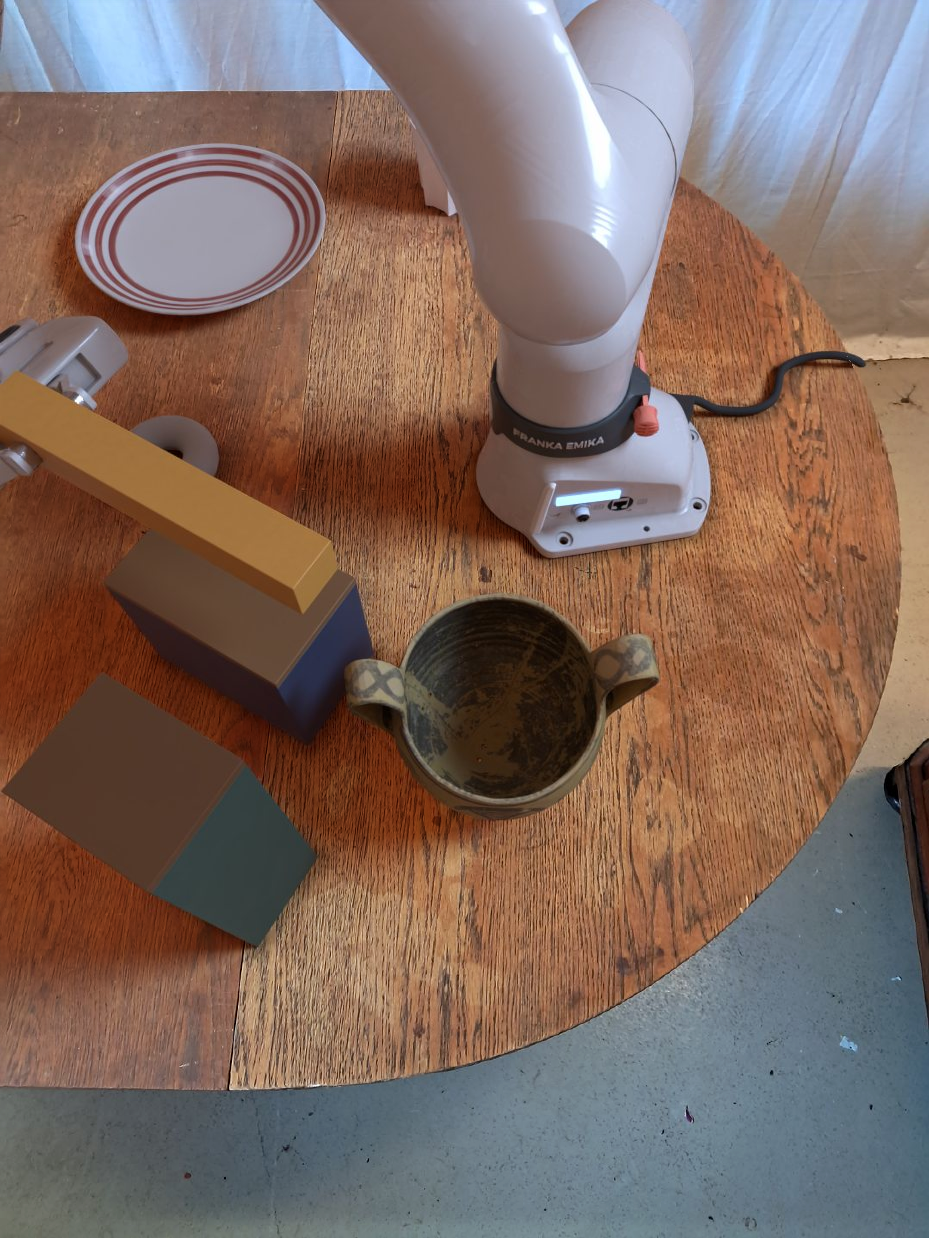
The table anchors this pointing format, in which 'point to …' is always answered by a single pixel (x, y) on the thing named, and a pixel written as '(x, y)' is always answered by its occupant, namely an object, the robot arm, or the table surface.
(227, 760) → the brown-topped teal block
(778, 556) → the table surface
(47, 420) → the yellow ochre bar
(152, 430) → the donut
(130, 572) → the brown-topped navy block
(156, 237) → the dinner plate
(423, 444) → the table surface
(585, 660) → the ceramic bowl
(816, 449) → the table surface
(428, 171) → the cup
